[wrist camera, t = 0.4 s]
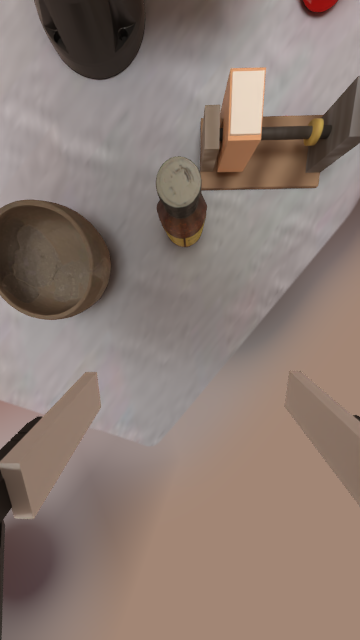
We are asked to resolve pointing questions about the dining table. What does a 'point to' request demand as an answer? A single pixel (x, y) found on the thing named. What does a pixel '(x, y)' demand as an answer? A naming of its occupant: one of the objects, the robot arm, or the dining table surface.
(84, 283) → the bowl
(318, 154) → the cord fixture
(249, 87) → the sleeve
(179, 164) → the sauce bottle
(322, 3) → the beverage can
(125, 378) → the dining table surface
